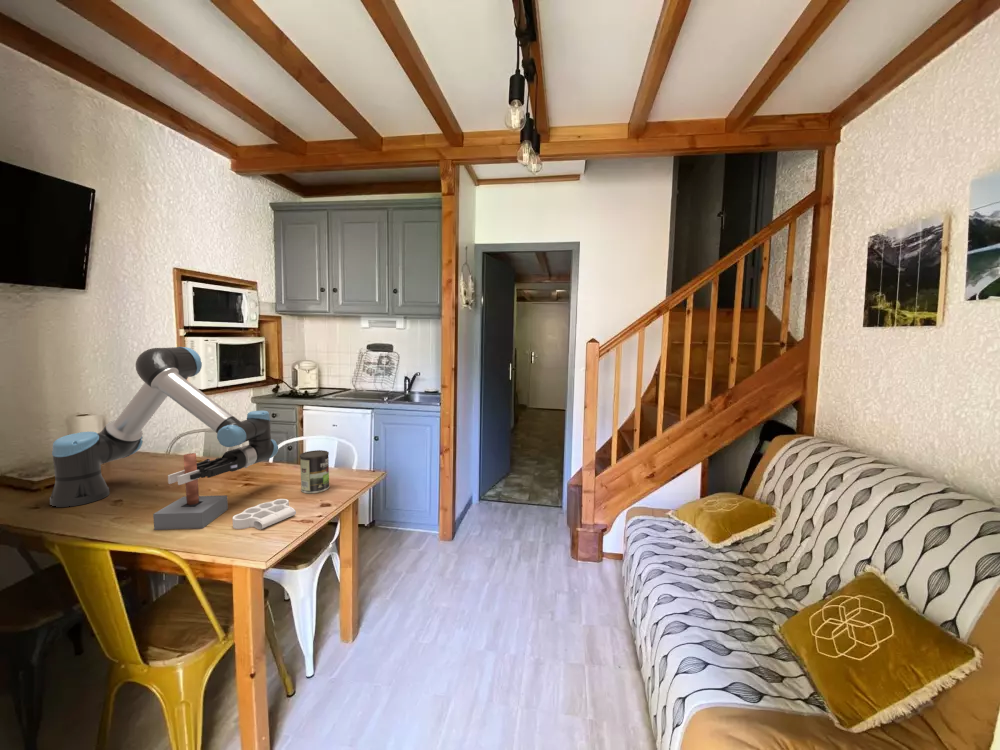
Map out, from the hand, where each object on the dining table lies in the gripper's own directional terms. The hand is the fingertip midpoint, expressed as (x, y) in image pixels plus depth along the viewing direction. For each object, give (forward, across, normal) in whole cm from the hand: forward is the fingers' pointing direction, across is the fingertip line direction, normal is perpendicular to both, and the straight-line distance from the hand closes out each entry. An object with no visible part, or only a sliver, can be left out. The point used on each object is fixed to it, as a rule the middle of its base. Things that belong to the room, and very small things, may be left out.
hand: (173, 480), depth 128 cm
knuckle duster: (-12, -22, -16) cm, 29 cm away
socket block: (-5, 0, -15) cm, 16 cm away
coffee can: (-39, -19, -15) cm, 46 cm away
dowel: (-5, 0, -10) cm, 11 cm away
